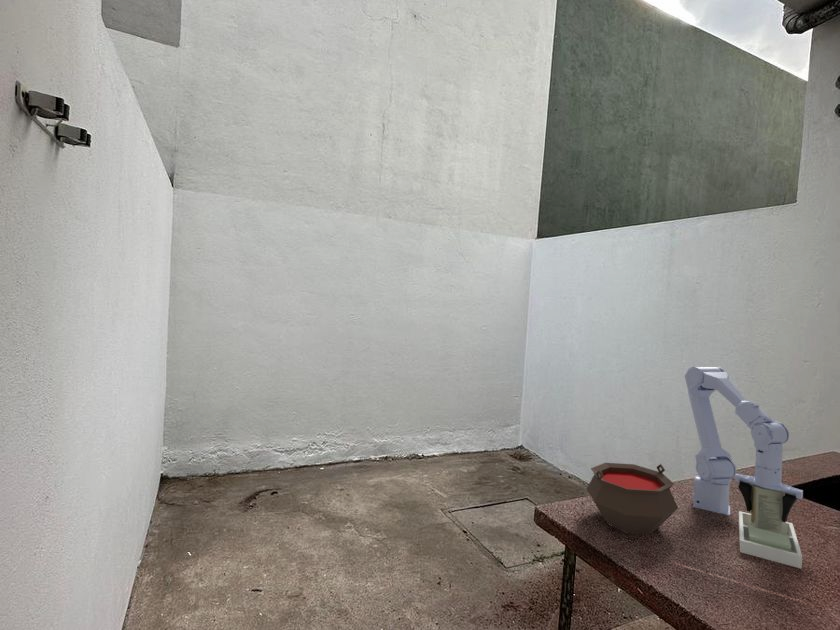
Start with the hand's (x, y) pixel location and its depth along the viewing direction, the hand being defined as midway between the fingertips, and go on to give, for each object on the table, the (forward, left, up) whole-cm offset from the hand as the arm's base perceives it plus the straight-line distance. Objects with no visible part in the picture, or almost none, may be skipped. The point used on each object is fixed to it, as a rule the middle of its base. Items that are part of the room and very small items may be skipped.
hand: (766, 515), depth 122 cm
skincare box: (0, 0, -4) cm, 5 cm away
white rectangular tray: (0, -5, -6) cm, 8 cm away
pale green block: (0, -10, -5) cm, 11 cm away
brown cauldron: (-32, -14, -6) cm, 35 cm away
